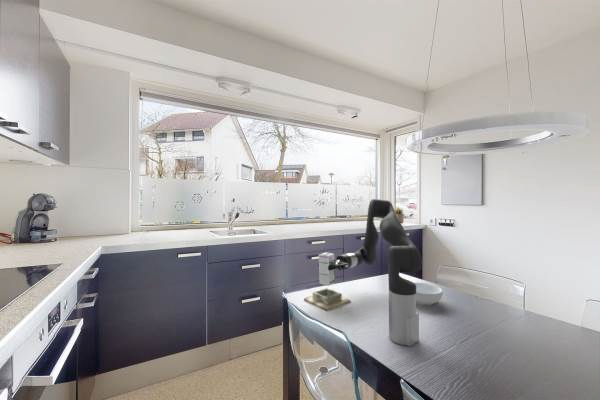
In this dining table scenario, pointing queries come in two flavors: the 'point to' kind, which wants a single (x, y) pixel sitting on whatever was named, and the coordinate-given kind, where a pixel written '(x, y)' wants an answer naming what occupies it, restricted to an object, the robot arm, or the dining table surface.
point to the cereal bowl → (427, 294)
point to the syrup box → (326, 269)
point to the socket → (327, 299)
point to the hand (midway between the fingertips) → (323, 266)
